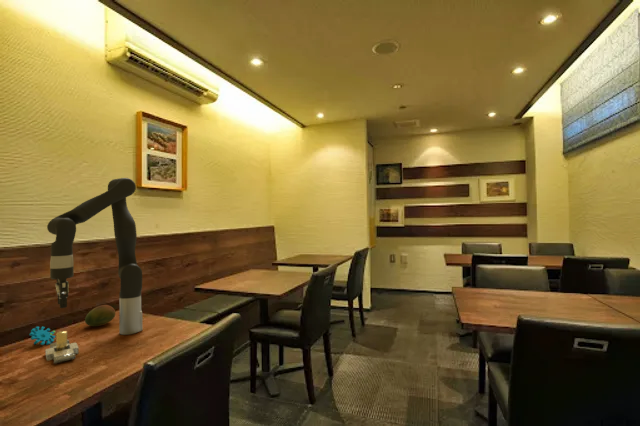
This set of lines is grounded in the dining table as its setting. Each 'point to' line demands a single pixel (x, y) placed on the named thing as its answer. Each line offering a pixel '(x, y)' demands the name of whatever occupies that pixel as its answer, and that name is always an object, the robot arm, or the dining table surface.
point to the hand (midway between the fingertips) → (62, 305)
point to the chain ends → (62, 352)
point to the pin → (61, 340)
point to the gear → (42, 335)
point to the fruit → (100, 315)
